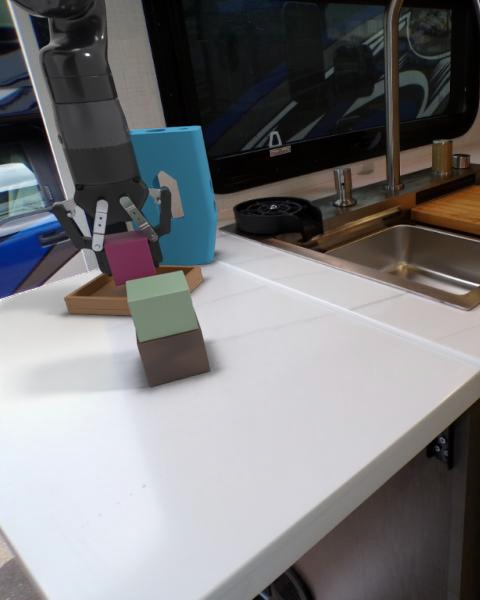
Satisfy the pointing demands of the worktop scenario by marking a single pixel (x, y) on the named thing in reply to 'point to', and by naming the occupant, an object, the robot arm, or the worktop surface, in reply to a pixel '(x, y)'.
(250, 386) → the worktop surface
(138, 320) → the sage block
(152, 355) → the walnut block
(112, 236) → the mulberry block
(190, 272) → the tray
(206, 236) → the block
